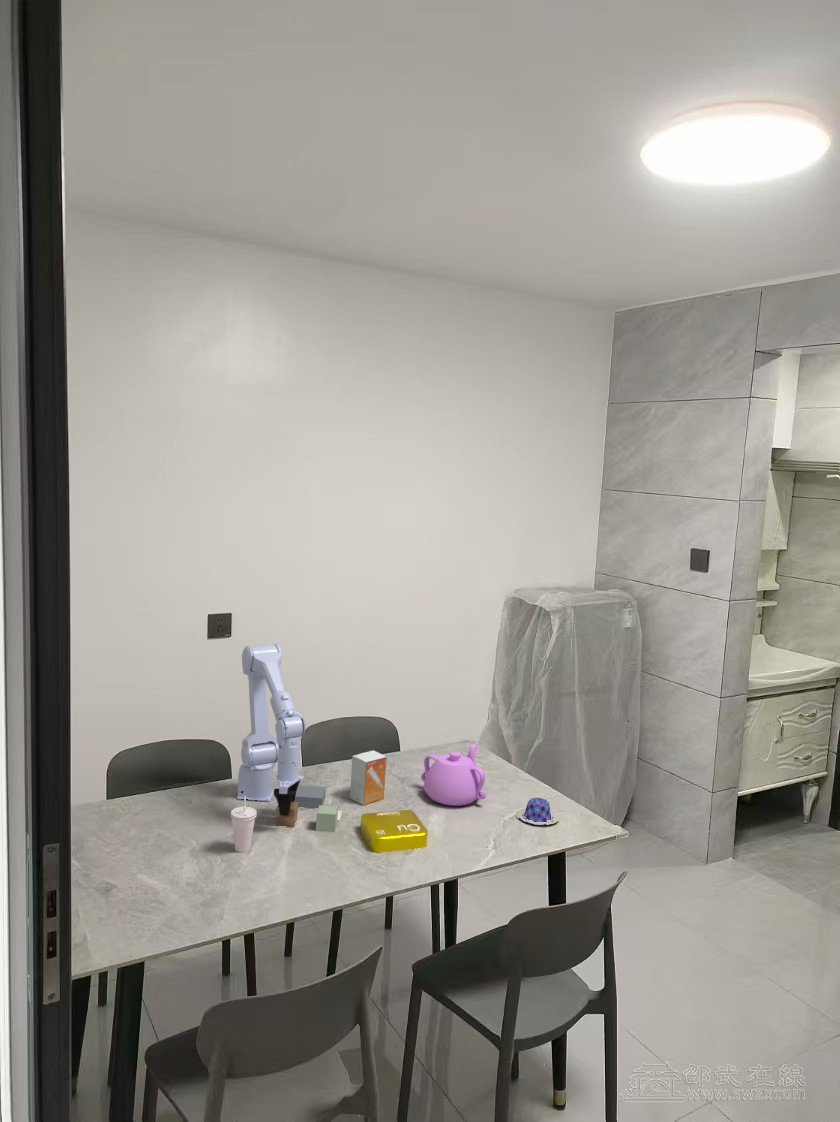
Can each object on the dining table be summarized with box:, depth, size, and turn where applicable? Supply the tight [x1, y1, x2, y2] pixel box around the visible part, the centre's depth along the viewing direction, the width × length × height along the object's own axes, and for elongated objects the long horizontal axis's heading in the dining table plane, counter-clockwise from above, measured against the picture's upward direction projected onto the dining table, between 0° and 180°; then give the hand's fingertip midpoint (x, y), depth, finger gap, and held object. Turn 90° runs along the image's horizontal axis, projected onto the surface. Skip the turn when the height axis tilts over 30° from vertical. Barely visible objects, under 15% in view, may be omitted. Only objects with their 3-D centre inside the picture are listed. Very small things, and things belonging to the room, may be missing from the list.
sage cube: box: [315, 804, 339, 833], centre depth 224 cm, size 5×5×5 cm
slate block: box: [294, 784, 327, 809], centre depth 239 cm, size 8×8×4 cm
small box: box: [349, 749, 387, 806], centre depth 243 cm, size 8×6×13 cm
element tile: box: [360, 809, 429, 854], centre depth 220 cm, size 15×15×5 cm
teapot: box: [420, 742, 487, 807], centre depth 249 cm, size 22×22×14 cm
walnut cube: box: [274, 802, 299, 828], centre depth 225 cm, size 5×5×5 cm
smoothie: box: [230, 796, 258, 853], centre depth 209 cm, size 6×6×14 cm
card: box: [337, 810, 343, 822], centre depth 231 cm, size 6×6×1 cm
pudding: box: [516, 797, 552, 822], centre depth 237 cm, size 12×12×5 cm
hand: (287, 809), depth 225 cm, fingers open, 7 cm apart
